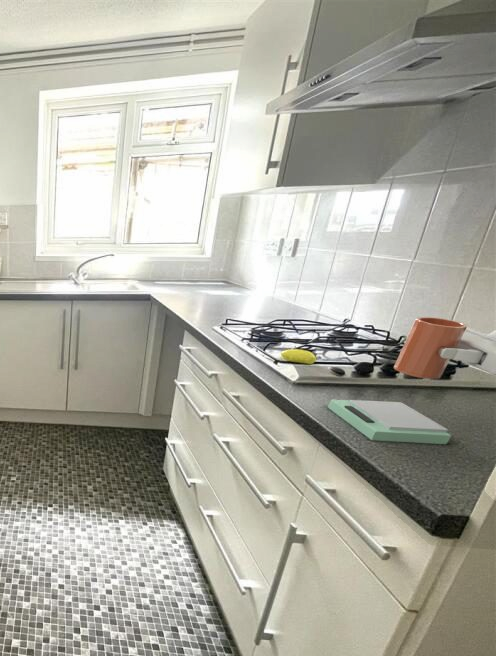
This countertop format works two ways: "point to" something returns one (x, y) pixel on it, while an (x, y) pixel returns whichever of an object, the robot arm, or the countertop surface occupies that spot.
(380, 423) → the scale
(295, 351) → the lemon
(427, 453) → the countertop surface
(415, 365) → the orange mug
